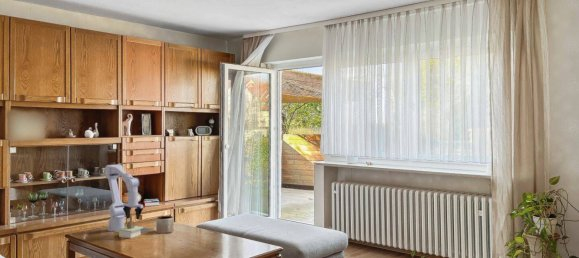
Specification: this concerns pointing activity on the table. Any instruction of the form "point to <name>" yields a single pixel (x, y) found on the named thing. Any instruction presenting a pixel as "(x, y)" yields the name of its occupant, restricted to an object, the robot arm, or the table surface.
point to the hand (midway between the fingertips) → (133, 218)
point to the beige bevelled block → (129, 234)
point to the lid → (130, 227)
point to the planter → (164, 224)
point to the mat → (145, 230)
